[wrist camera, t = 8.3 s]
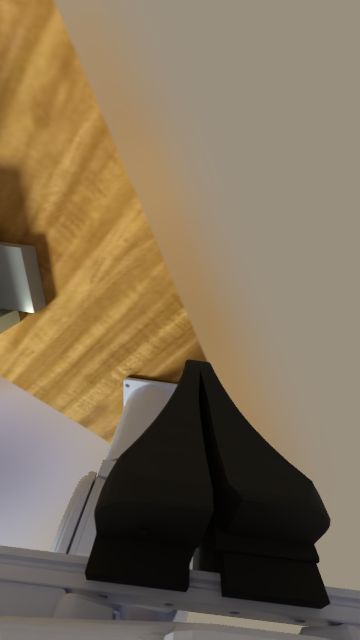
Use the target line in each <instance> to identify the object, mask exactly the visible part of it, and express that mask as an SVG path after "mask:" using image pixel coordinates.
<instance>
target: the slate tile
mask: <svg viewBox="0 0 360 640" xmlns="http://www.w3.org/2000/svg"><path fill="white" fill-rule="evenodd" d="M44 307H46V302H45V296H44V291H43V286H42V281H41V275H40V270H39V265H38V260H37V255H36V249H35V246H32V245H24V244H16V243H8V242H0V309H8V310H16V311H24V312H32V313H35V312H37V311H38V310H40V309H42V308H44Z"/></svg>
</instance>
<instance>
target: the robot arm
mask: <svg viewBox="0 0 360 640" xmlns="http://www.w3.org/2000/svg"><path fill="white" fill-rule="evenodd" d="M127 384H129V385H127ZM96 475H97V473H96V472H93V471H92V472H89V474H88V475H86V476H84V477H83V478H82V479H81V480H80V481H79V483H78V485H77V487H76V489H75V491H74V493H73V495H72V497H71V499H70V502H69V504H68V506H67V509H66V511H65V513H64V516H63V518H62V520H61V523H60V525H59V528H58V530H57V533H56V535H55V538H54V541H53V543H52V546H51V548H50V551H49V552H48V551H40V550H31V549H23V548H16V547H8V546H0V640H360V591H357V590H349V589H340V588H334V587H325V586H324V584H323V581H322V578H321V575H320V573H319V570H318V567H317V564H316V563H318V562H319V556H318V554H317V551H316V548H315V546H314V544H315V542H317V541H318V540H319V539H320V538H321V537H322V536H323V535H324V534H325V532H326V531H327V530H328V528H329V526H330V518H329V515H328V513H327V511H326V509H325V506H324V504H323V502H322V500H321V498H320V495H319V494H318V492H317V490H316V488H315V486H314V484H313V483H312V481H311V480H310V479H308V478H307V477H306V476H305V475H304V474H303V473H301V472H300V471H299V470H298V469H297V468H295V467H294V466H293V465H292V464H290V463H289V462H288V461H287V460H286V459H285V458H284V457H282V456H281V455H280V454H279V453H278V452H277V451H276V450H275V449H274V448H273V447H272V446H271V445H270V444H269V443H268V442H266V440H265V439H264V438H263V437H262V436H261V435H260V434H259V433H258V432H257V431H256V430H255V429H254V428H253V427H252V426H251V425H250V423H249V422H248V421H247V420H246V419H245V417H244V416H243V415H242V414H241V413H240V411H239V410H238V408H237V407H236V406H235V404H234V403H233V402H232V400H231V399H230V397H229V396H228V394H227V392H226V391H225V389H224V388H223V386H222V384H221V383H220V381H219V379H218V377H217V376H216V374H215V372H214V370H213V368H212V366H211V364H210V363H209V362H202V361H195V360H186V362H185V368H184V371H183V374H182V376H181V379H180V381H179V383H178V384H174V383H166V382H158V381H151V380H143V379H136V378H125V379H124V409H123V412H122V415H121V418H120V420H119V423H118V426H117V429H116V431H115V434H114V437H113V440H112V442H111V445H110V448H109V451H108V453H107V456H106V459H105V460H103V463H102V465H101V468H100V471H99V473H98V476H97V477H96ZM188 611H190V612H197V613H205V614H214V615H222V616H229V617H237V618H245V619H253V620H262V621H270V622H277V623H286V624H294V625H302V626H309V627H302V629H301V631H300V633H299V634H291V633H283V632H275V631H266V630H259V629H251V628H243V627H234V626H227V625H219V624H205V623H186V621H187V616H188Z"/></svg>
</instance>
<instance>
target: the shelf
mask: <svg viewBox="0 0 360 640" xmlns="http://www.w3.org/2000/svg"><path fill="white" fill-rule="evenodd" d="M19 322H21V321H20V317H19V313H18V311H16V310H8V309H0V333H2V332H4V331H5V330H7V329H9V328H10V327H12V326H14V325H15V324H17V323H19Z"/></svg>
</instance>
